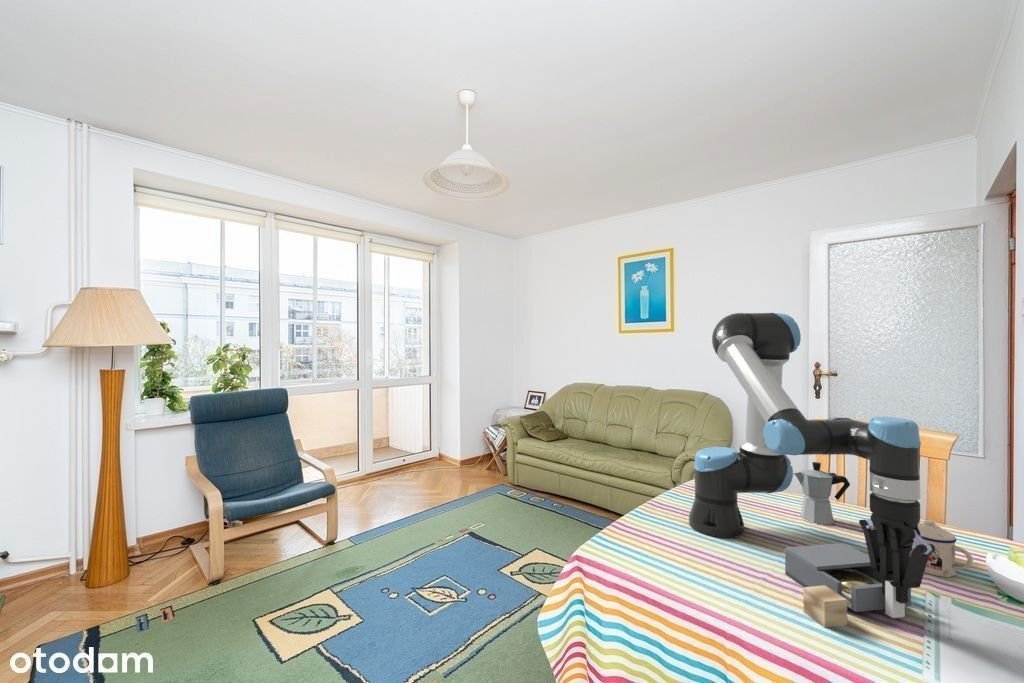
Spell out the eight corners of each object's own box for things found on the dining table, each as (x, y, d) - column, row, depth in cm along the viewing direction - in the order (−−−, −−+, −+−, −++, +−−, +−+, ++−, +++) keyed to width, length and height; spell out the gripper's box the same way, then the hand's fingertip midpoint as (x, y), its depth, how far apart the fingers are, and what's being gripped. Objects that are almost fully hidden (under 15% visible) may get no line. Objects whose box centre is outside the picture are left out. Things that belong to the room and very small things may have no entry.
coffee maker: (796, 521, 133) (796, 463, 133) (790, 511, 141) (789, 457, 141) (855, 529, 127) (854, 469, 127) (845, 518, 135) (844, 461, 136)
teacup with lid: (897, 563, 107) (897, 517, 107) (916, 556, 111) (915, 511, 111) (963, 588, 96) (962, 536, 97) (981, 578, 100) (980, 529, 100)
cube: (803, 611, 88) (803, 587, 88) (825, 609, 89) (824, 585, 89) (824, 627, 83) (824, 601, 83) (847, 625, 84) (846, 599, 84)
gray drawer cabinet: (785, 574, 102) (785, 547, 102) (843, 569, 105) (843, 543, 105) (837, 610, 88) (837, 578, 89) (903, 603, 91) (903, 573, 91)
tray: (801, 576, 99) (801, 556, 99) (850, 572, 101) (850, 552, 101) (856, 611, 86) (855, 589, 86) (911, 606, 88) (910, 583, 88)
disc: (853, 598, 89) (853, 590, 89) (820, 578, 97) (820, 571, 97) (886, 595, 90) (886, 588, 90) (852, 575, 98) (852, 568, 98)
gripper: (847, 486, 91) (848, 597, 91) (913, 509, 78) (914, 639, 78) (878, 484, 92) (878, 594, 92) (947, 507, 79) (948, 635, 79)
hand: (895, 615), depth 85 cm, fingers closed
